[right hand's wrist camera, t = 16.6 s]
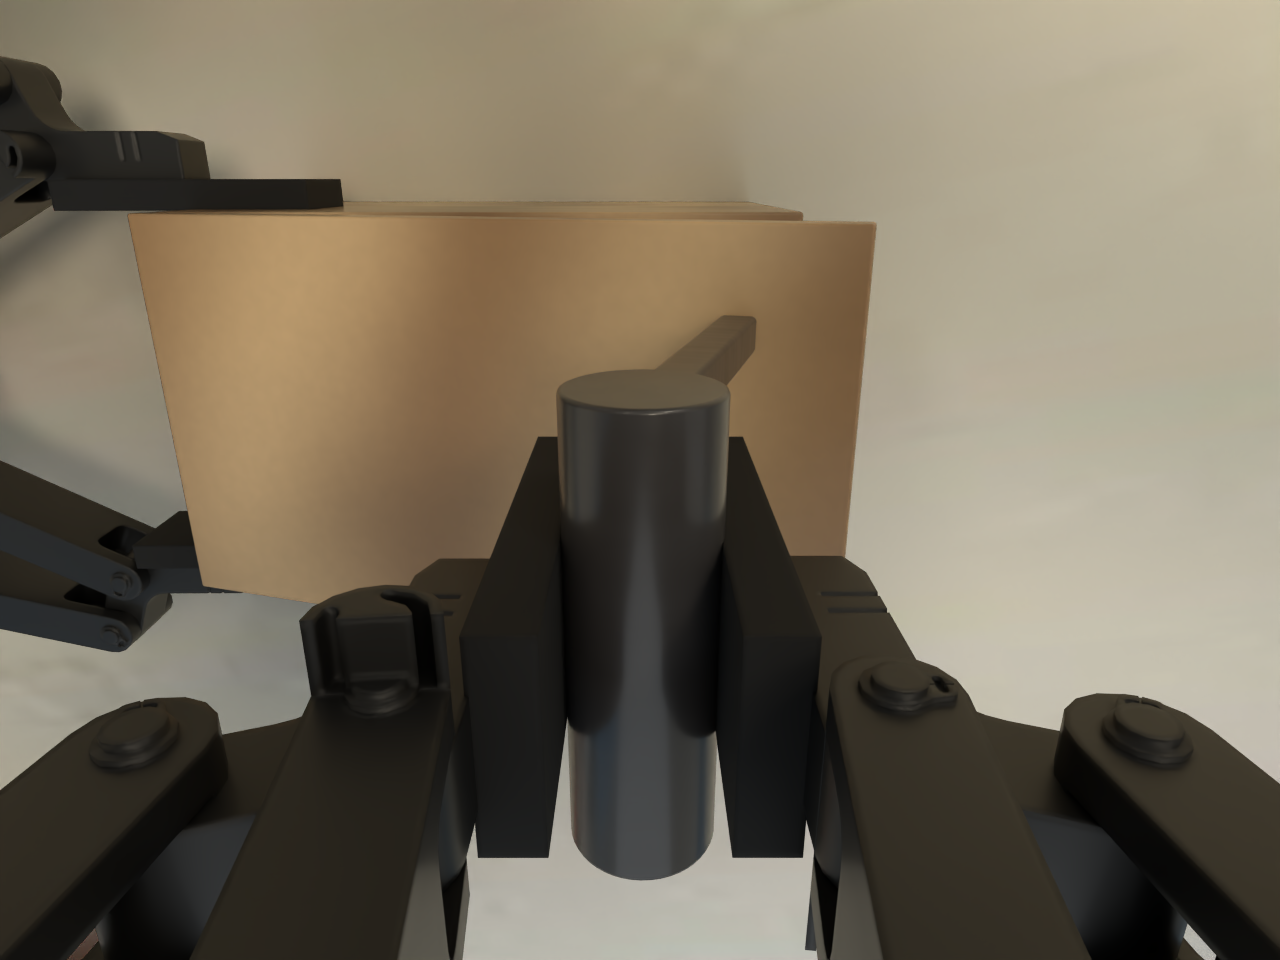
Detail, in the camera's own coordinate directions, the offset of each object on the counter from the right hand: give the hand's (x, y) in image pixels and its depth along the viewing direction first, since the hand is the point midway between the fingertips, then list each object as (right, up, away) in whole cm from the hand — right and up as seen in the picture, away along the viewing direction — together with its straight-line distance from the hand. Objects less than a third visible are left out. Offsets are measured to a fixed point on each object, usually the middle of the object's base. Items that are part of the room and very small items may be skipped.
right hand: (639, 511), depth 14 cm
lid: (-4, +2, +5) cm, 6 cm away
